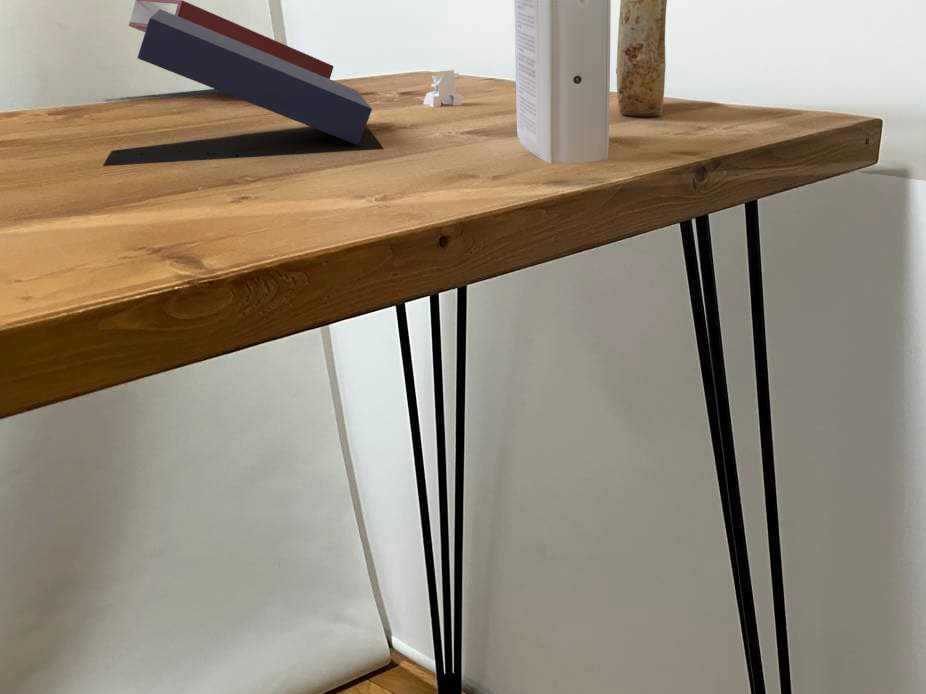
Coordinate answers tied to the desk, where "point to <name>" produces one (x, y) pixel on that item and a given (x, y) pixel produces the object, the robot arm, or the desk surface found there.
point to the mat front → (243, 147)
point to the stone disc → (641, 57)
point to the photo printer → (563, 78)
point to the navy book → (254, 76)
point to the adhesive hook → (444, 90)
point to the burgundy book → (225, 31)
